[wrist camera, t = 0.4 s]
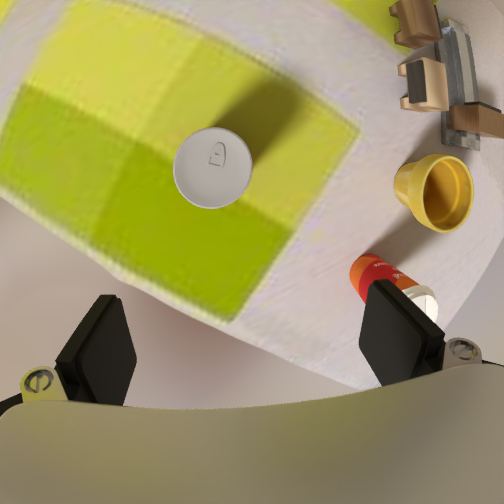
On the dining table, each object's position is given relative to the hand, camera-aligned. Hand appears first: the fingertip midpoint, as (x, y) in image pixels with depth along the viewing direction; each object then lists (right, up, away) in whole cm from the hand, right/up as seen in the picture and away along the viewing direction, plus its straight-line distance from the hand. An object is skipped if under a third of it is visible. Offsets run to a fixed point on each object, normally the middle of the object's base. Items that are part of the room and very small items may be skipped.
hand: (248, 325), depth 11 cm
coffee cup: (+18, 0, +34) cm, 39 cm away
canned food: (-4, +14, +27) cm, 31 cm away
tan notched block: (+24, +27, +24) cm, 44 cm away
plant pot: (+25, +13, +30) cm, 41 cm away
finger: (+24, +38, +21) cm, 49 cm away
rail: (+35, +31, +24) cm, 53 cm away
